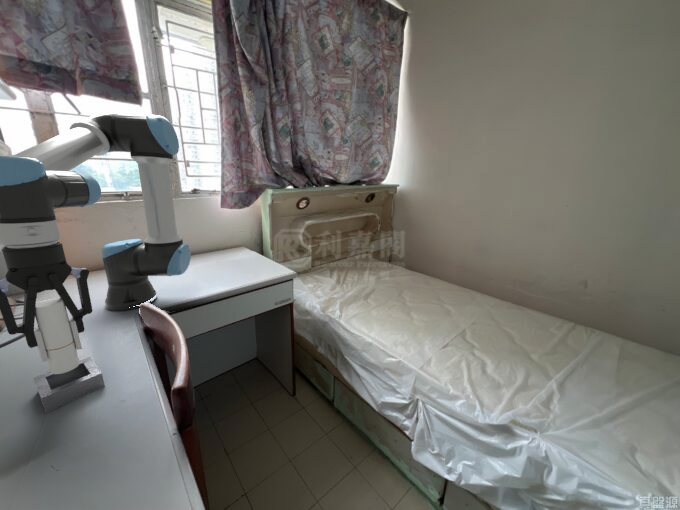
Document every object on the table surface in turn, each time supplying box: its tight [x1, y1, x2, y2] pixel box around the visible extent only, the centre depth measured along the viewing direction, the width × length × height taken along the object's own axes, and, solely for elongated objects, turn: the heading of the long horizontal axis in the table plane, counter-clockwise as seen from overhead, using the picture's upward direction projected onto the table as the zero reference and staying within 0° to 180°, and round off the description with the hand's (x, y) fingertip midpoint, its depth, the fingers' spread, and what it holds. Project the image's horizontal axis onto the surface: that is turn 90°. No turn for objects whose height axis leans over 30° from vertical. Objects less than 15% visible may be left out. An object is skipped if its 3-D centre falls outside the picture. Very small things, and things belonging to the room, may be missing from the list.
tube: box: [35, 297, 80, 374], centre depth 55 cm, size 4×4×15 cm
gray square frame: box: [33, 356, 106, 414], centre depth 58 cm, size 9×9×4 cm
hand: (61, 352), depth 56 cm, fingers closed on tube, 4 cm apart
